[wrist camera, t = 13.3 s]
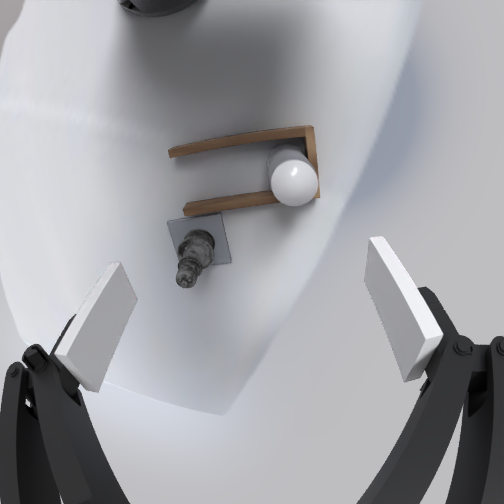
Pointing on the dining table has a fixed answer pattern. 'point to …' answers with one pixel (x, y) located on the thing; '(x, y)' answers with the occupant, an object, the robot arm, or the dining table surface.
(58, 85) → the dining table surface
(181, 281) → the grey chess piece
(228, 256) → the coaster
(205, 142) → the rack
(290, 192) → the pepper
